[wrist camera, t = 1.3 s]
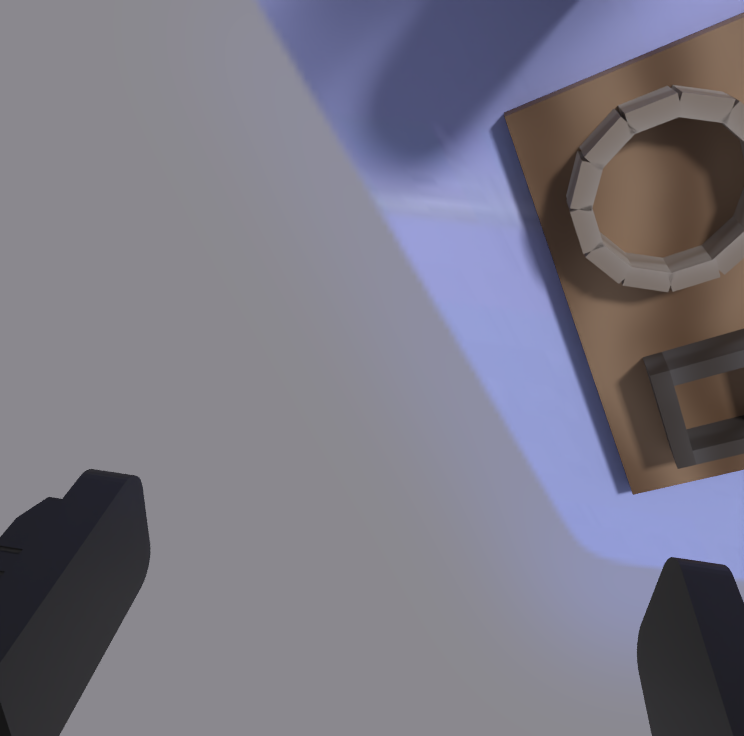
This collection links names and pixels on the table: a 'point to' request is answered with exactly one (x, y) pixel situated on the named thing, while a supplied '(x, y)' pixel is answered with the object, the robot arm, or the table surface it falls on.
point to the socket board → (652, 245)
